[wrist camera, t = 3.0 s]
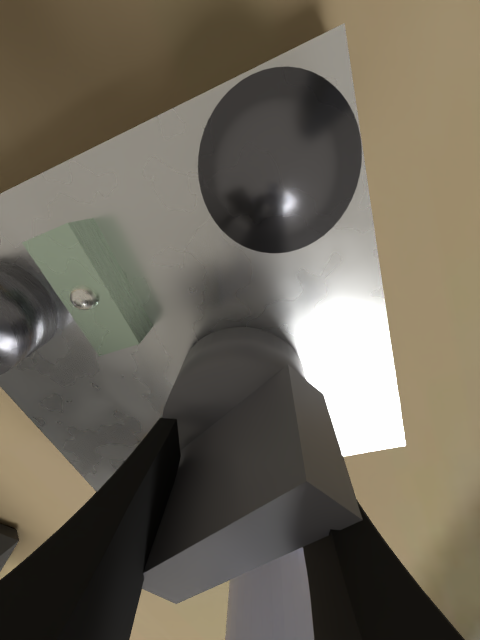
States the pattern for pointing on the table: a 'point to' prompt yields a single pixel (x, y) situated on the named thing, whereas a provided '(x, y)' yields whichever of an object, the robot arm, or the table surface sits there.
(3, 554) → the computer monitor
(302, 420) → the knob
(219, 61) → the table surface
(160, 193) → the plate
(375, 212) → the table surface
